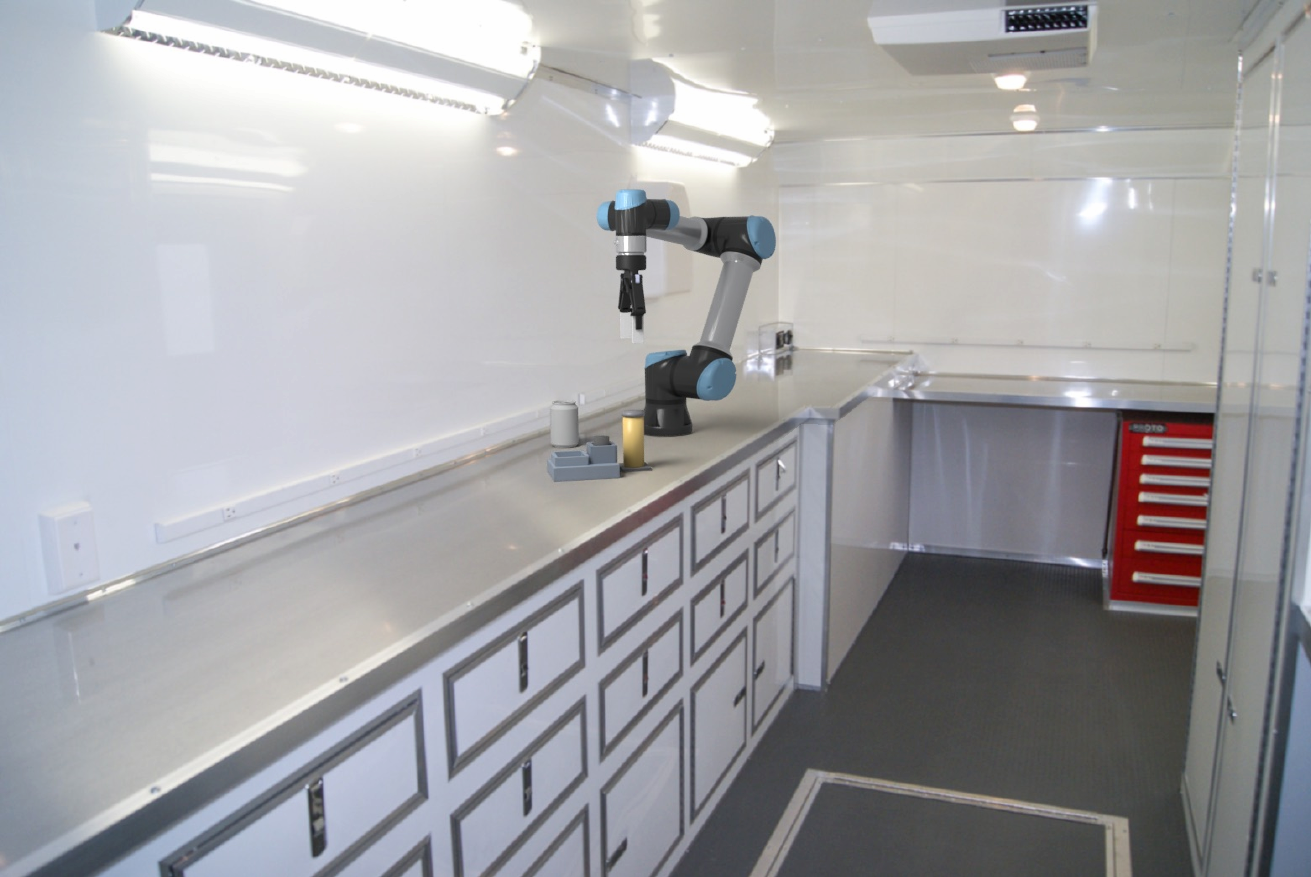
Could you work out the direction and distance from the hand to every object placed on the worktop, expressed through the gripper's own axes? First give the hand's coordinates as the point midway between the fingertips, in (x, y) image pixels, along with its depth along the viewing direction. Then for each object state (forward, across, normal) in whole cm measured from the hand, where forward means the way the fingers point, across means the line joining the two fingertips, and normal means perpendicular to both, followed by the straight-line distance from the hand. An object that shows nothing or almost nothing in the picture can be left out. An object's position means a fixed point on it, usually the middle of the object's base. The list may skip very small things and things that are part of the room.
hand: (631, 340), depth 258 cm
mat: (+29, +17, -4) cm, 34 cm away
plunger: (+25, +21, -12) cm, 35 cm away
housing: (+29, +21, -16) cm, 39 cm away
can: (+29, -15, -15) cm, 36 cm away
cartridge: (+28, +17, -4) cm, 33 cm away
